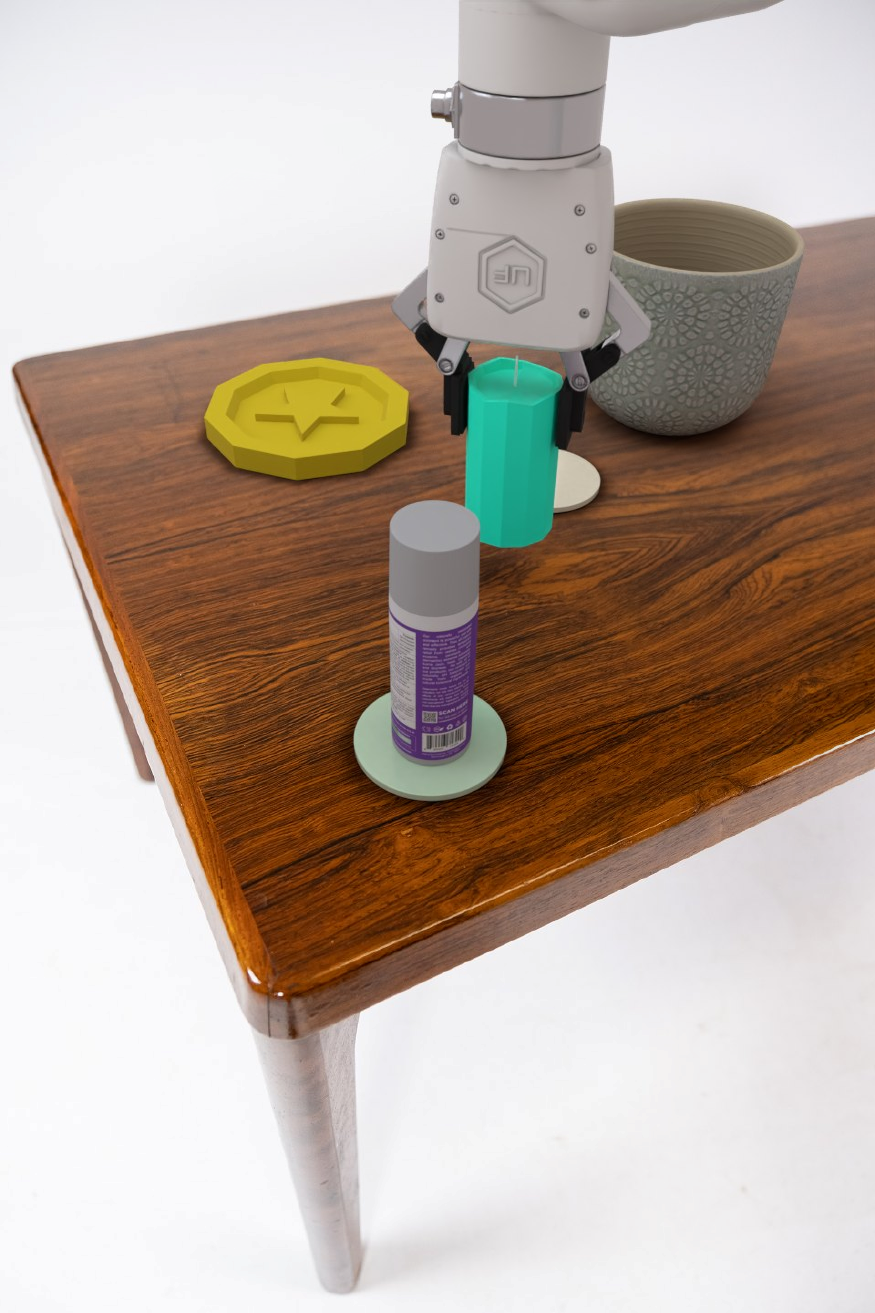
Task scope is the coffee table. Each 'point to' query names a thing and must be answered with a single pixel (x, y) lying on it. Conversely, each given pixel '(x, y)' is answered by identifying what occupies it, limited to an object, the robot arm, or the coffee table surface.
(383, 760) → the near coaster
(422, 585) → the container
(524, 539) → the candle
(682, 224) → the planter
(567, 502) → the far coaster
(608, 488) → the coffee table surface
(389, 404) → the decorative disc
